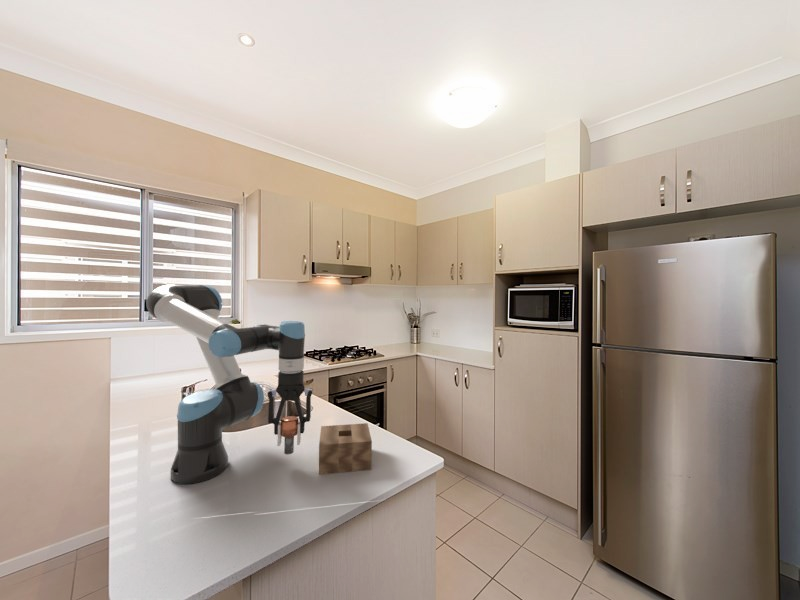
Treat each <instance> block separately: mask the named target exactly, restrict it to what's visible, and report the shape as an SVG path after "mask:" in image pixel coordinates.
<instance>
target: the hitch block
mask: <svg viewBox="0 0 800 600" xmlns="http://www.w3.org/2000/svg"><path fill="white" fill-rule="evenodd" d="M320 427H321V428H320V434H319V444H318V475H329V474H337V473H338V474H340V473H348V472H349V473H351V472H359V471H370V470H372V464H373V463H372V457H373V456H372V451H373V449H372V446H373V441H372V436H371V432H370V428H369V423H367V422H366V423H352V424H351V423H350V424H338V425H337V424H336V425H333V424H332V425H321V426H320Z"/></svg>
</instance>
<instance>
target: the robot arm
mask: <svg viewBox="0 0 800 600" xmlns="http://www.w3.org/2000/svg"><path fill="white" fill-rule="evenodd" d="M222 303H223V300H222V296H221V295H220V293H219V291H218V290H217V289H216V288H214V287H212V286H210V285H203V284H196V285H194V284H193V285H189V284H165V285H161V286H158V287H156V288H155V289H153V290H152V291H151V292H150V293H149V295H148V296H147V298H146V308H147V311H148V313H149V314H150V315H151V316H152V317H153V318H155V319H157V320H158V321H161V322H163V323H171V324H173V325H174V326H176V327H178V328H180V329H182V330H183V331H185V332H187V333H189V334H191V335H192V336H193V337H196V340H197V342H198V345H199V347H200V350H201V352H202V353H203V356H204V359H205V361H206V364H207V366H208V368H209V371H210V373H211V376H212V378H213V380H214V381H213V382H214V383H215V387H214V388H213V389H212V388H211V389H205V390H198V391H196V392H194V393H190V394H188V395H187V396H185V397H183V398H182V399H181V400H180V401H179V403H178V406H177V407H178V408H177V415H176V418H177V451H176V454H175V457H174V460H173V463H172V464H171V468H170V480H171V479H172V480H173V481H174V483H175V482H177V483H176V484H179V483H181V485H189V484H190V485H191V484H196V483H201V482H204V481H208V480H211V479H213V478H215V477H217V476H219V475H220V474H222V473H223V472H224V471H226V469H227V468H228V466H229V455H228V452H227V450H226V448H225V445H224V443H223V429H226V428H229V427H231V426H233V425H236V424H238V423H240V422H243V421H247V420H249V419H250V418H252V417H254V416H256V415H258V414H259V413H260V412H261V410H262V408H263V406H264V402H265V394H264V389H263V388H262V387H261V385H260V384H259V383H257V382H253V381H251V380H250V377H249V376H248V375H246V374H243V373H242V371H241V369H240V366H239V365H238V362H237V359H236V358H235V356H237V355H243V354H247V353H253V352H257V351H258V352H259V351H264V350H275V351H278V371H279V372H278V374H277V375H278V377H277V379H278V380H277V387H276V388H274V389H269V390H268V392H267V393H266V394H267V397H268V412H267V413H268V417H267V423H268V424H273V425H274V426H273V427H274V431H273V434H274V435H277V445H276V446H277V447H281V444H282V437H283V436H281V418H282V414H283V410H284V408H285V403H286V402H288V401H292V402H294V404H295V407H296V408H295V409H296V412H297V415H298V430H297V435H296V437H297V438H296V439H297V441H296V446H300V445H301V439H302V437H301V434H305V425H306V424H305V423H308V422H310V421H311V417H312V416H311V415H312V413H311V412H312V410H311V408H312V407H311V406H312V403H311V402H312V399H311V398H312V395H313V391H314V390H313V388H307V387H305V385H304V369H305V367H304V366H305V342H306V341H305V340H306V339H305V337H306V332H305V324H304V322H302V321H298V320H297V321H296V320H295V321H294V320H287V321H285V320H284V321H281V322H280V323H279V326H276V325H268V324H265V323H264V324H255V325H254V326H253V327H242V328H237V327H234V326H232V325H231V324H229V323H226V322H224V321H223V320H221V319H219V317H220V315H221V310H222V307H223V304H222ZM303 393H304V396H306V399H305V402H306V403H305V414H304V410H303V406H302V403H301V398H300V397H301V396H302V395H303ZM277 394H278V396H279V397H280V403H279V407H278V410H277V412H276V416H275V399H276V398H275V397H276V396H277ZM274 416H275V417H274ZM172 480H171V481H172ZM173 481H172V482H173Z"/></svg>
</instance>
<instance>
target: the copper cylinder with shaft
mask: <svg viewBox="0 0 800 600" xmlns="http://www.w3.org/2000/svg"><path fill="white" fill-rule="evenodd" d="M280 422H281V436H282V437H284V442H283V443H284V446H283V447H284V450H283V452H284V453H283V454H285V455H291V454H293V453H294V451H295V449H294V448H295V447H294V446H295V436H297V430H298V422H299V416H298V417H297V416H295V415H290V416H289V415H288V416H285V417H281V418H280Z"/></svg>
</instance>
